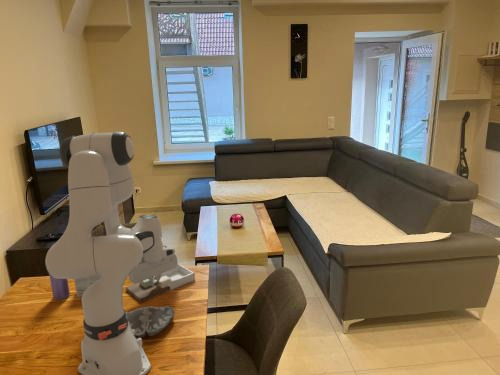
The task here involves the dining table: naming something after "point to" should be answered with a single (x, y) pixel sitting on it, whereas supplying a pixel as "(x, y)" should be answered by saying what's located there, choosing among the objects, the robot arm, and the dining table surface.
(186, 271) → the grey tray
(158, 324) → the brain slice
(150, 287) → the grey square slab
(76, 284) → the supplement box
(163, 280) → the cream tile
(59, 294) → the beverage can
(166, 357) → the dining table surface
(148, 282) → the sage tile
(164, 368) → the dining table surface
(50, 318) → the dining table surface
